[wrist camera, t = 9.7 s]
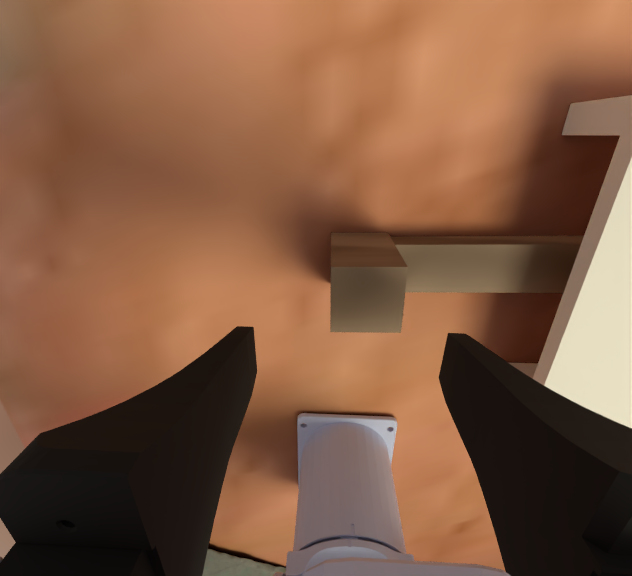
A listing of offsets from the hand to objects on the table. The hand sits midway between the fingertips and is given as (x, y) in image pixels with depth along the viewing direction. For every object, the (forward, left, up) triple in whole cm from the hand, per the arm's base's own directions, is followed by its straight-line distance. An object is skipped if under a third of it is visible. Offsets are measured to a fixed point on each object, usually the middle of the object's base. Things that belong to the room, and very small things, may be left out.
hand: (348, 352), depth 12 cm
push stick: (0, -8, -10) cm, 13 cm away
